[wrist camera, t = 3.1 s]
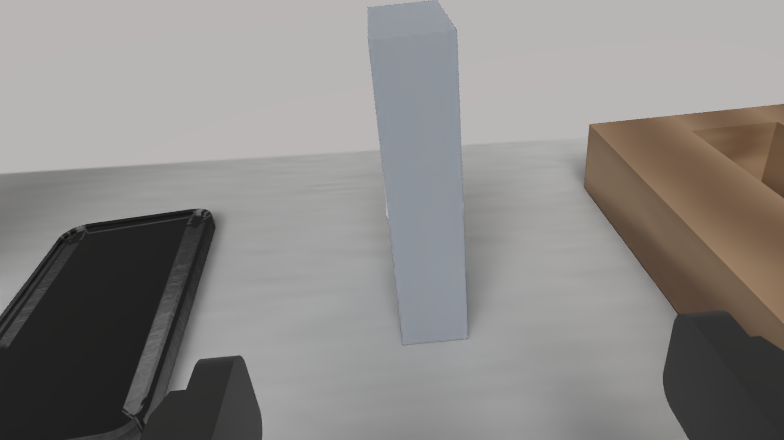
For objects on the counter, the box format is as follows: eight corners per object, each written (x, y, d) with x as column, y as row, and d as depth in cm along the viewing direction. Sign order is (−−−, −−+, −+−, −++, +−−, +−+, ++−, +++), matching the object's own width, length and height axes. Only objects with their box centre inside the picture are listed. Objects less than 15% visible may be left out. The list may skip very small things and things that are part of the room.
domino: (401, 345, 20) (366, 39, 15) (395, 266, 25) (366, 7, 19) (469, 338, 20) (458, 29, 15) (451, 261, 25) (438, -1, 19)
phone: (214, 205, 30) (139, 435, 17) (219, 224, 31) (150, 459, 18) (65, 227, 30) (-129, 479, 17) (73, 244, 30) (-108, 502, 17)
